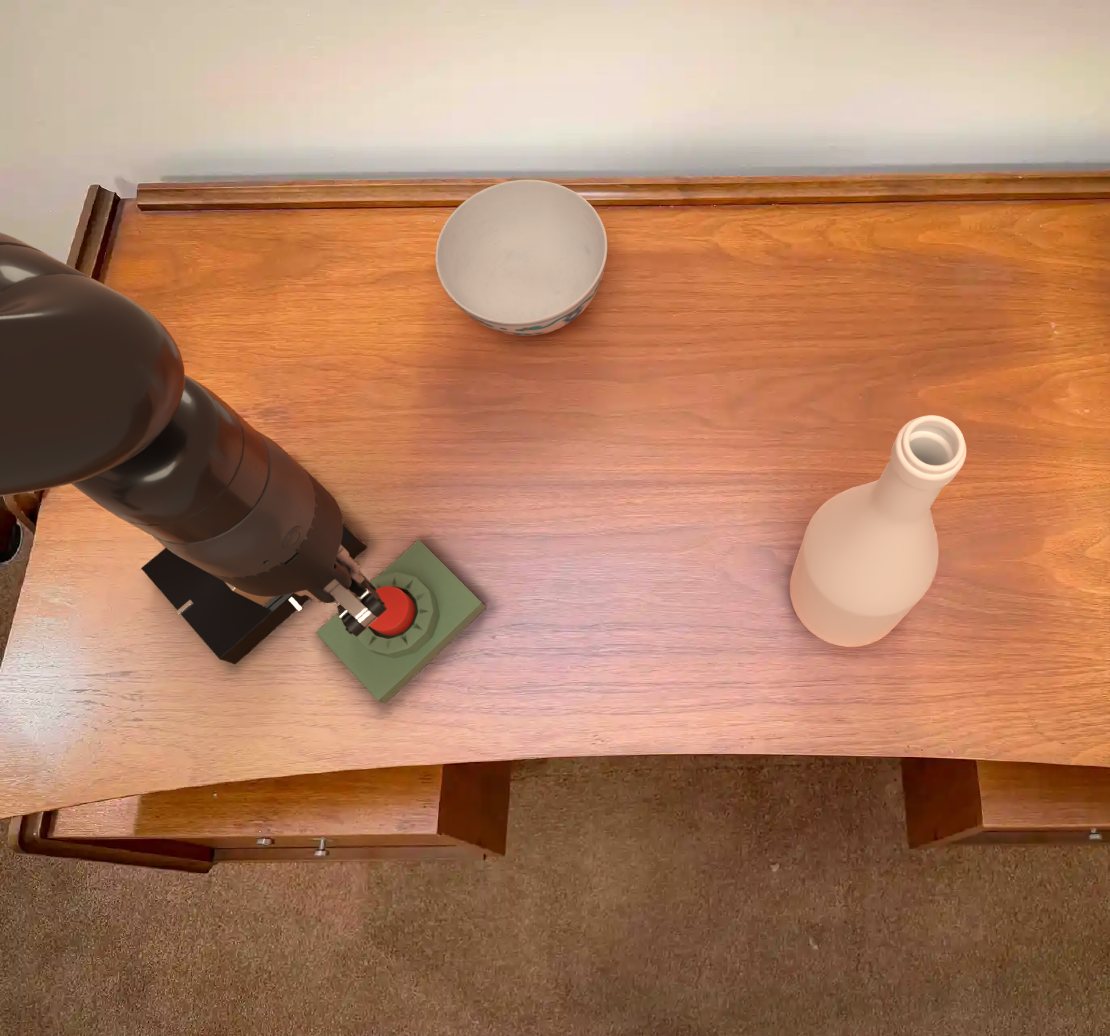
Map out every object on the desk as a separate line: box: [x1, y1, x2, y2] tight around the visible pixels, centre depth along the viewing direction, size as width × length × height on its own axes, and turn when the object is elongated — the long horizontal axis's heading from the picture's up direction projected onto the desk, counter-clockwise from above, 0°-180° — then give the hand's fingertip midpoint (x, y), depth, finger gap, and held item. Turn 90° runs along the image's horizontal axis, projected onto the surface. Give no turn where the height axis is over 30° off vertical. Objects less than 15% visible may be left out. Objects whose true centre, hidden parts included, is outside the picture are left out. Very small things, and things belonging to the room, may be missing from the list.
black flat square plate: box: [140, 521, 368, 665], centre depth 73 cm, size 14×14×3 cm
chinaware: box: [435, 179, 608, 337], centre depth 79 cm, size 15×15×8 cm
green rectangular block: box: [315, 539, 487, 705], centre depth 71 cm, size 11×8×4 cm
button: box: [370, 586, 415, 635], centre depth 69 cm, size 4×4×2 cm
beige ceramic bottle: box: [789, 414, 967, 648], centre depth 58 cm, size 10×10×30 cm
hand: (360, 594), depth 63 cm, fingers closed
